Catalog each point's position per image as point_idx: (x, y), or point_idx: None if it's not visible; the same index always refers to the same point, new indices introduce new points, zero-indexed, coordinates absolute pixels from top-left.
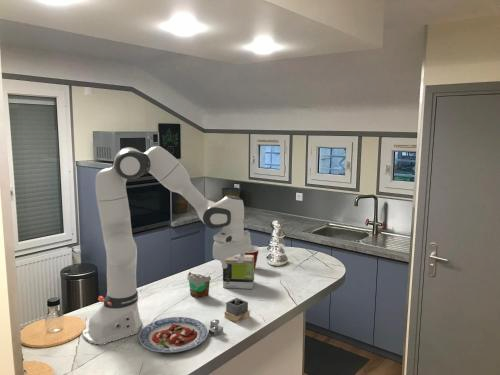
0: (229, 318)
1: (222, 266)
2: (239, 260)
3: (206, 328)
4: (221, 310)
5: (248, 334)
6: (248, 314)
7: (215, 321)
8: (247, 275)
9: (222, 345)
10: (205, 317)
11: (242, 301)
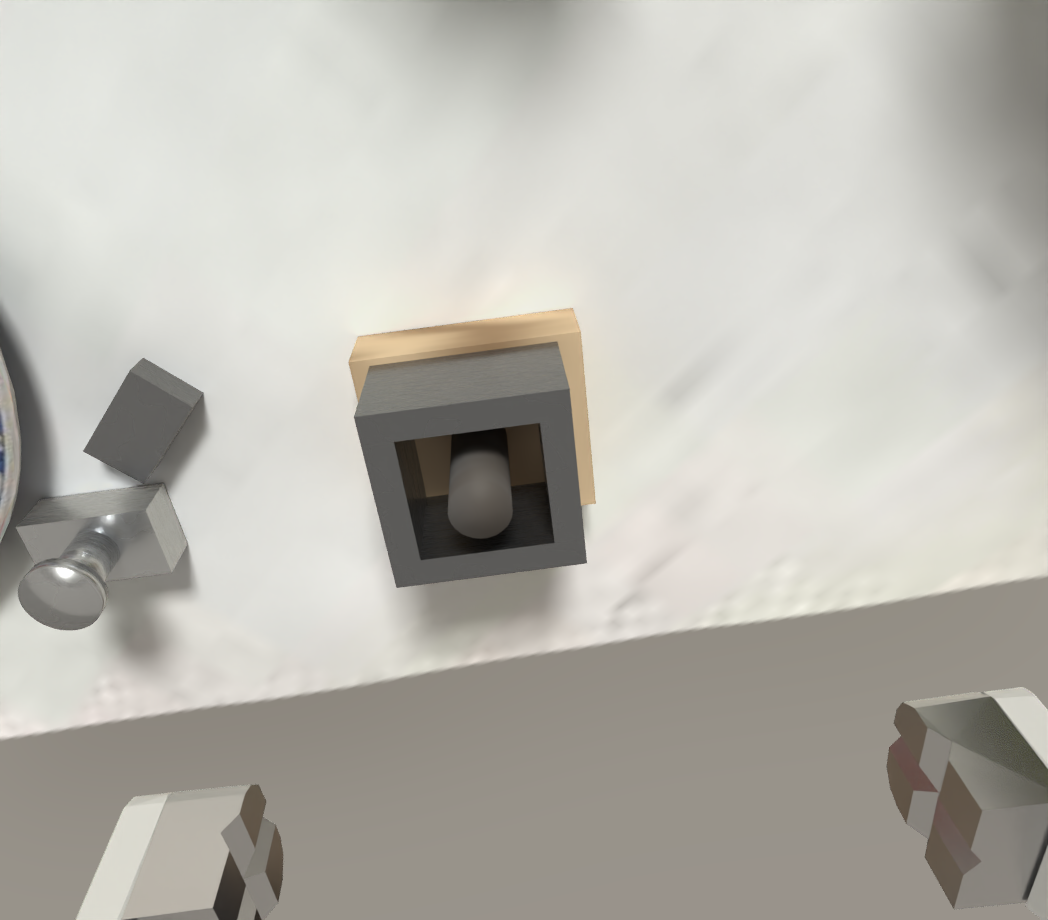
0: None
1: (122, 847)
2: (935, 833)
3: (4, 499)
4: (430, 166)
5: (359, 675)
6: None
7: (55, 600)
8: None
9: (85, 678)
10: (158, 188)
11: (550, 511)
